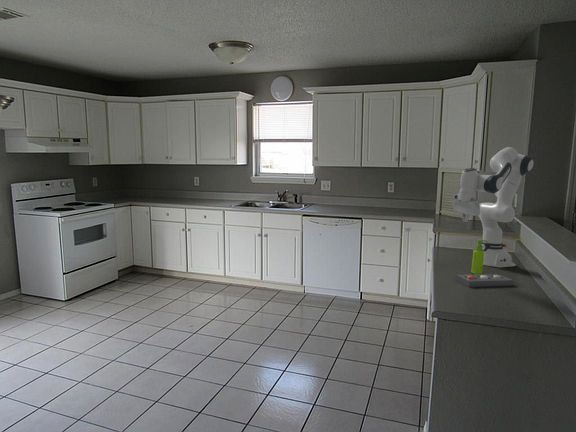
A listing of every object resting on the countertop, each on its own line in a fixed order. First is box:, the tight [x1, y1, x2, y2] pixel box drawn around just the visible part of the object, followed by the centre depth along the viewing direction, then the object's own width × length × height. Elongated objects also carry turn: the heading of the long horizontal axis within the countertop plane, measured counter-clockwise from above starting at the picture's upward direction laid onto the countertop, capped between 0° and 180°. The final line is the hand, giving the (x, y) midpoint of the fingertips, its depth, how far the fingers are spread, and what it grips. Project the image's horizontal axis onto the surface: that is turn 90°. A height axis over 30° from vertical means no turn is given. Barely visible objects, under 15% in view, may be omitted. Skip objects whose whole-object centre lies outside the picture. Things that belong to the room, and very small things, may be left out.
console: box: [455, 273, 514, 288], centre depth 223 cm, size 26×12×3 cm, turn 101°
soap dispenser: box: [470, 238, 487, 274], centre depth 241 cm, size 6×7×20 cm
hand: (465, 221), depth 235 cm, fingers closed
